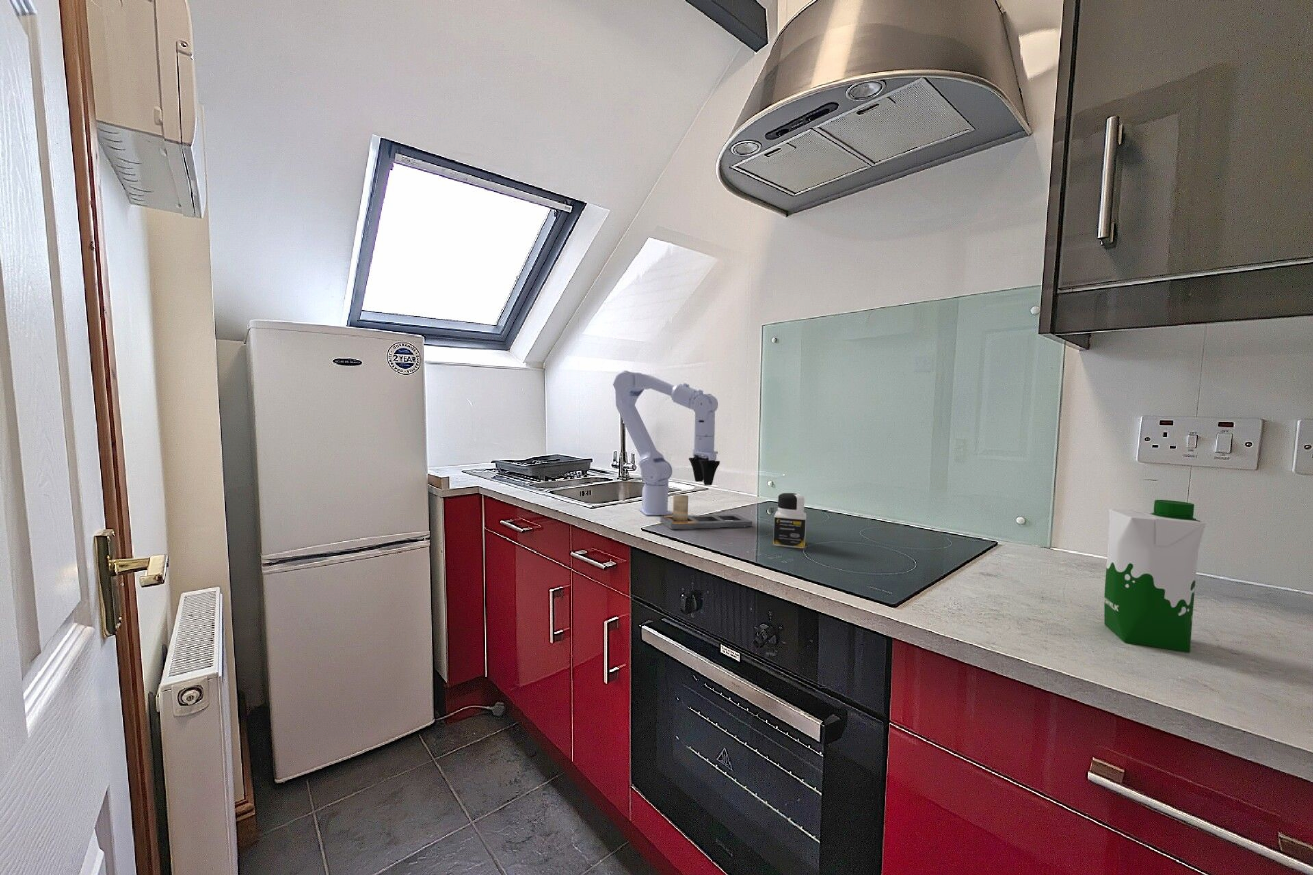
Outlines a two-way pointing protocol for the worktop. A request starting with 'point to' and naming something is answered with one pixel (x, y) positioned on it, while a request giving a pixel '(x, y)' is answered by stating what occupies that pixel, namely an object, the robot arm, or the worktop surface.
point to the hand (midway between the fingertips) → (703, 483)
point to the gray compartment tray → (706, 521)
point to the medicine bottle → (790, 521)
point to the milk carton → (1152, 574)
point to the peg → (680, 508)
